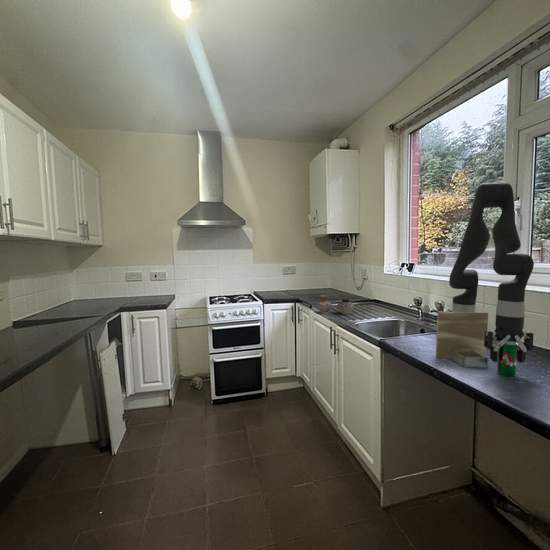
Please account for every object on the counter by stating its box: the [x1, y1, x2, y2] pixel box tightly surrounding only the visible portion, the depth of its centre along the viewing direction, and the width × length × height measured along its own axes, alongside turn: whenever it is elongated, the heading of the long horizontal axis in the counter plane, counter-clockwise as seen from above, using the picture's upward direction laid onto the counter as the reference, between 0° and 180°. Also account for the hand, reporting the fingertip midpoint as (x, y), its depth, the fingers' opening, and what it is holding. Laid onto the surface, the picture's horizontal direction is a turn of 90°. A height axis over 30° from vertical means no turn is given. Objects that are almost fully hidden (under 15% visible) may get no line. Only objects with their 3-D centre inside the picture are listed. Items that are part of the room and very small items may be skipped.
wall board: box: [435, 311, 489, 359], centre depth 119 cm, size 2×18×18 cm, turn 84°
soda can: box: [496, 341, 519, 378], centre depth 103 cm, size 5×5×12 cm
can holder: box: [449, 349, 488, 369], centre depth 114 cm, size 10×8×4 cm
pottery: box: [316, 294, 355, 316], centre depth 205 cm, size 11×25×12 cm, turn 78°
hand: (507, 361), depth 103 cm, fingers open, 7 cm apart
